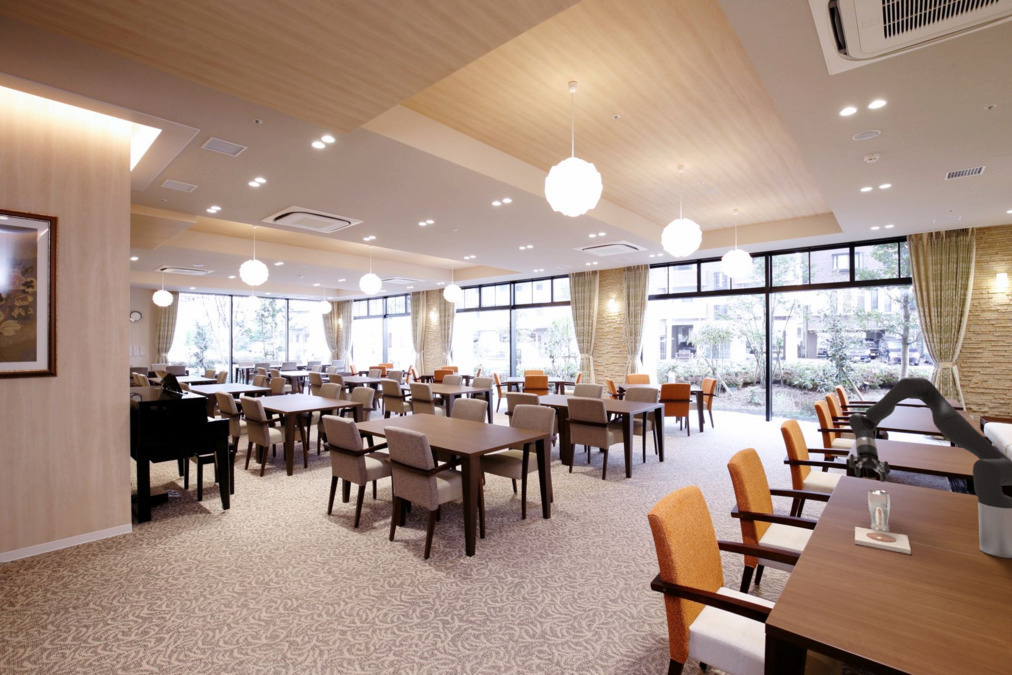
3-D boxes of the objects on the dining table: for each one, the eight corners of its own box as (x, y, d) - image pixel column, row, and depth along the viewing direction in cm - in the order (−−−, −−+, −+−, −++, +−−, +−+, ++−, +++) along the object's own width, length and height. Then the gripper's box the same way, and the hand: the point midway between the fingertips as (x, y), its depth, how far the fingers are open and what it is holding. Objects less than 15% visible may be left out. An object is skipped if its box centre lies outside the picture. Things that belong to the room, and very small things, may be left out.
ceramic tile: (907, 539, 181) (906, 535, 181) (910, 554, 168) (910, 549, 168) (855, 530, 191) (855, 526, 191) (855, 543, 178) (854, 539, 178)
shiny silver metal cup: (883, 526, 194) (881, 489, 195) (895, 532, 188) (894, 494, 188) (865, 526, 195) (863, 489, 196) (876, 532, 188) (875, 494, 189)
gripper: (850, 440, 216) (853, 468, 205) (888, 447, 210) (894, 477, 199) (845, 450, 220) (848, 479, 209) (882, 458, 215) (888, 487, 204)
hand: (870, 478), depth 204 cm, fingers open, 8 cm apart
